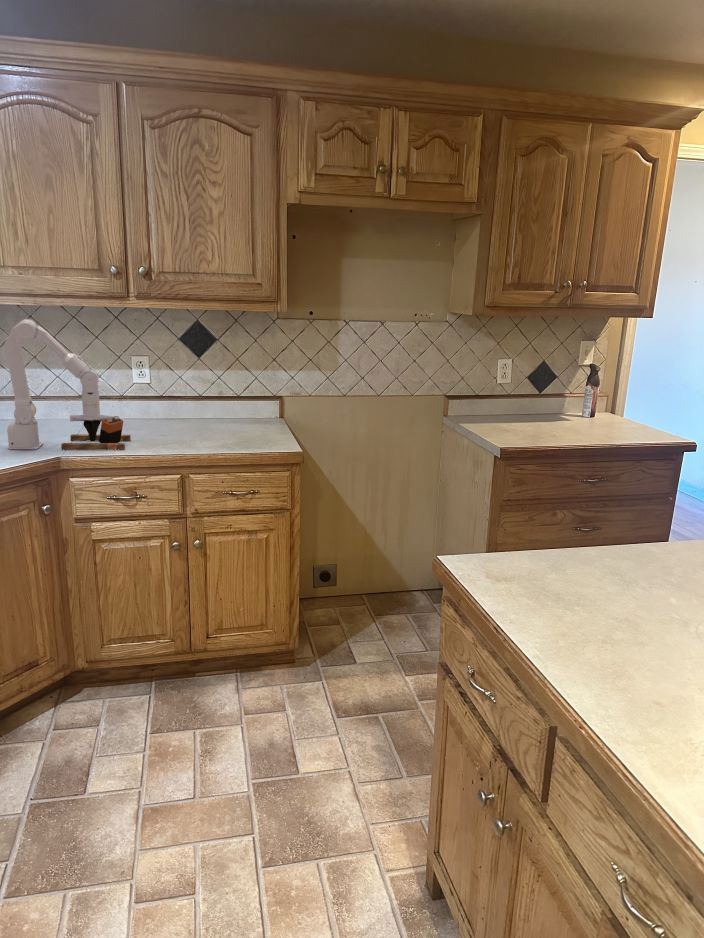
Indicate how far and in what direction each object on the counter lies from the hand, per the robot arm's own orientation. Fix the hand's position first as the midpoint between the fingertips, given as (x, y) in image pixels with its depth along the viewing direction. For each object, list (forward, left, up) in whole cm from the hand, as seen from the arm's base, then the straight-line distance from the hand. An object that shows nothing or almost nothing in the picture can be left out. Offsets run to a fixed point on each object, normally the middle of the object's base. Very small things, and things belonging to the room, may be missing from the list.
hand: (93, 440), depth 246 cm
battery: (+6, +1, -1) cm, 6 cm away
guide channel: (+1, 0, -1) cm, 2 cm away
